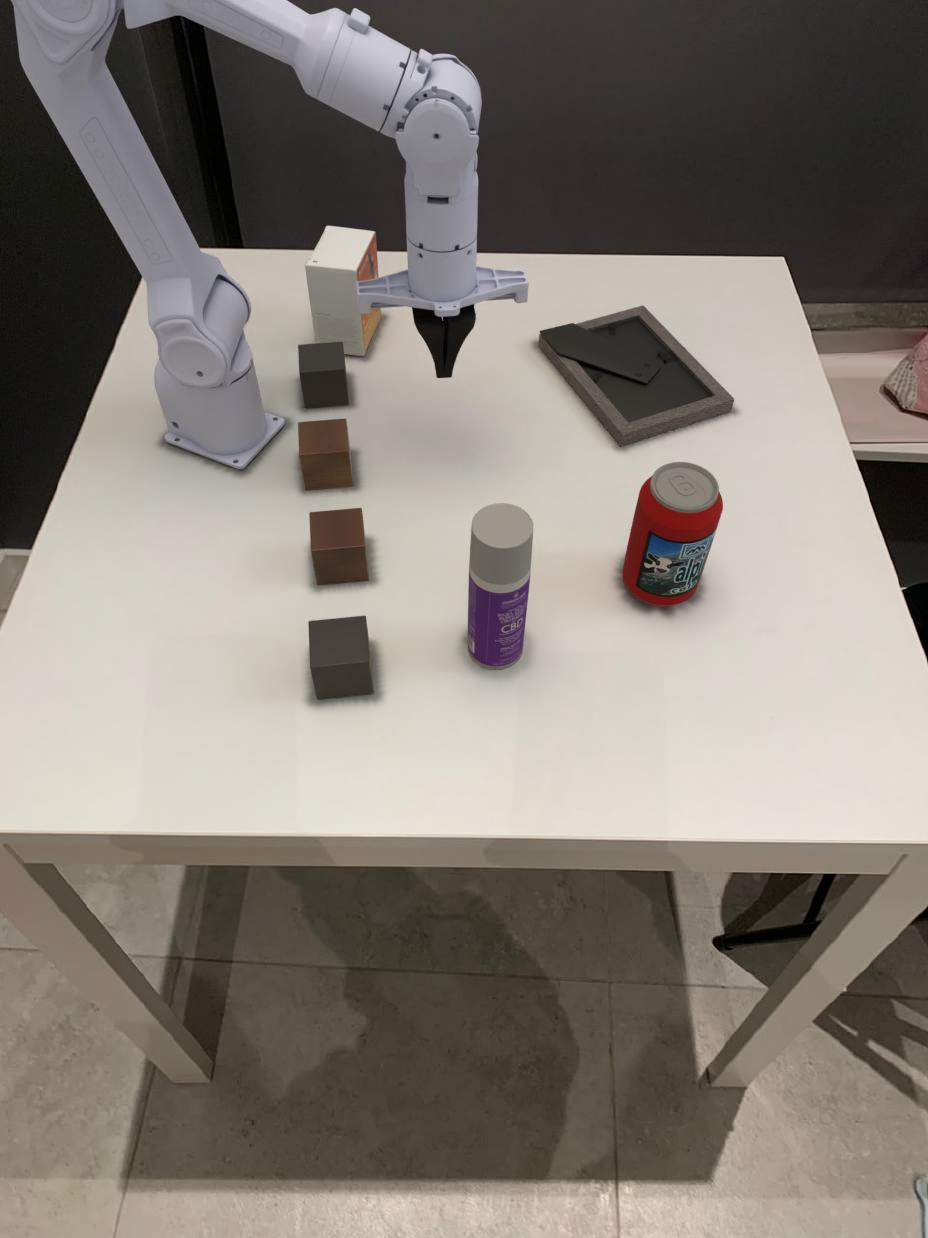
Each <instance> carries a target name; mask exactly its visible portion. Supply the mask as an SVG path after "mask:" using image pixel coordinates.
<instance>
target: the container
mask: <svg viewBox="0 0 928 1238" xmlns="http://www.w3.org/2000/svg"><path fill="white" fill-rule="evenodd" d="M470 527H471V529H470V545H469V546H470V547H469V563H468V593H467V595H468V596H467V597H468V599H467V652H468V655H469V657H470V659H471V660H472V661H473V662H474V663H475V664H477V665H478V666H479V667H482V668H484V669H487V670H491V671H492V670H493V671H497V670H499V671H500V670H505V669H507V668H510V667H512V666H513V665H515V664H516V663H517V662H518V661H519V660H520V658H521V657H522V654H523V649H524V642H525V640H524V639H525V631H526V622H527V613H528V612H527V611H528V601H529V595H530V594H529V593H530V585H531V584H530V583H531V573H532V557H533V555H532V554H533V539H534V521H533V518H532V517H531V516H530V514H529V513H528V511H526V509H523V507H521V506H518V505H515V504H512V503H506V502H497V503H491V504H488V505H486V506H484V507H482V508H480V509H479V510H478V511H477V512H476V513H475V514H474V516H473V517H472V520H471V526H470Z"/></svg>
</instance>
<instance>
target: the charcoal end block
mask: <svg viewBox="0 0 928 1238" xmlns="http://www.w3.org/2000/svg"><path fill="white" fill-rule="evenodd" d="M297 349H298V350H297V351H298V375H299V380H300V386H301V392H302V399H303V404H304V409H312V408H313V409H314V408H325V407H326V408H327V407H337V406H339V407H340V406H349V405H350V398H349V385H348V375H347V367H346V357H345V354H344V348H343V342H330V343H316V342H315V343H304V344H298V345H297Z"/></svg>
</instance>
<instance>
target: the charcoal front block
mask: <svg viewBox="0 0 928 1238" xmlns="http://www.w3.org/2000/svg"><path fill="white" fill-rule="evenodd" d="M367 621H368V620H367V616H366V615H356V616H345V617H335V618H326V619H325V618H324V619H316V620H308V622H307V624H308V650H309V651H308V652H309V670H310V673H311V679H312V684H313V688H314V692H315V696H316V699H317V700H327V699H337V698H346V697H355V696H364V695H366V696H367V695H373V694H374V693H375V691H374V690H375V689H374V680H373V667H372V657H371V645H370V637H369V629H368V622H367Z"/></svg>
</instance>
